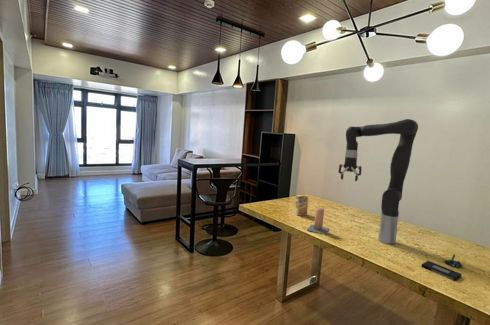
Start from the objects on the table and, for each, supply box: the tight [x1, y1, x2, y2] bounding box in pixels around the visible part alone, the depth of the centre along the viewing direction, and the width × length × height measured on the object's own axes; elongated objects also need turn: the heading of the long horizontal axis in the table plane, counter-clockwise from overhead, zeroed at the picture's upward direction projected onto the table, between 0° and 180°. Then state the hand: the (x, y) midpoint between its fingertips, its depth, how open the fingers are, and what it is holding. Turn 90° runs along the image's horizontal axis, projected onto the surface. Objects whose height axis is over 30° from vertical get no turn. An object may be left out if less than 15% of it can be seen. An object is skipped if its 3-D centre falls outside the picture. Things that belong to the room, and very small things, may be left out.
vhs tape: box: [421, 260, 462, 282], centre depth 131 cm, size 8×14×2 cm, turn 33°
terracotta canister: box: [313, 207, 325, 231], centre depth 177 cm, size 5×5×14 cm
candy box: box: [294, 194, 309, 216], centre depth 209 cm, size 9×4×15 cm, turn 107°
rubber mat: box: [306, 224, 330, 236], centre depth 178 cm, size 12×12×1 cm
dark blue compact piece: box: [444, 253, 463, 269], centre depth 139 cm, size 8×7×8 cm
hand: (349, 180), depth 180 cm, fingers open, 8 cm apart
